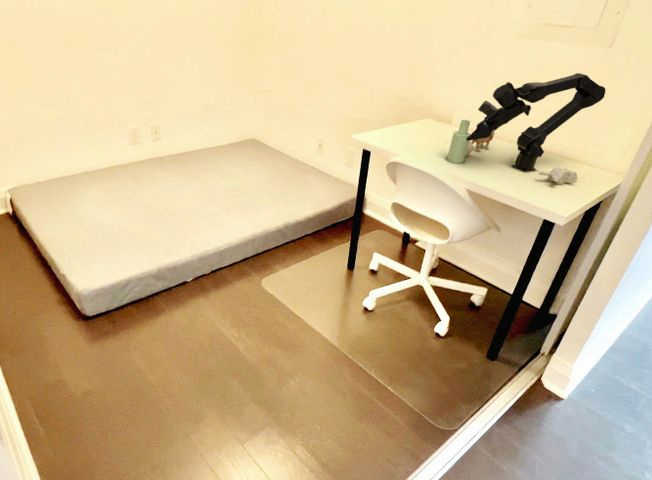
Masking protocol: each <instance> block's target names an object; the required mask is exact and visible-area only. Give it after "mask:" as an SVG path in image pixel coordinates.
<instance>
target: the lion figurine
mask: <svg viewBox="0 0 652 480" xmlns="http://www.w3.org/2000/svg"><path fill="white" fill-rule="evenodd" d="M495 132H496V130H493V134H492V135H491V136H489V137H488V138H482V139H476V140H471V142H472V144H473V145H474V144H476V146H475V150H476V151H477V152H480V151H481V150H480V149H481V148H482V149H483V147H484V149H485V150H488V149H489V145H490V143H491V141H493V139H494V135H495ZM485 143H486V145H485V146H483V145H484V144H485ZM479 148H480V149H479Z"/></svg>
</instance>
